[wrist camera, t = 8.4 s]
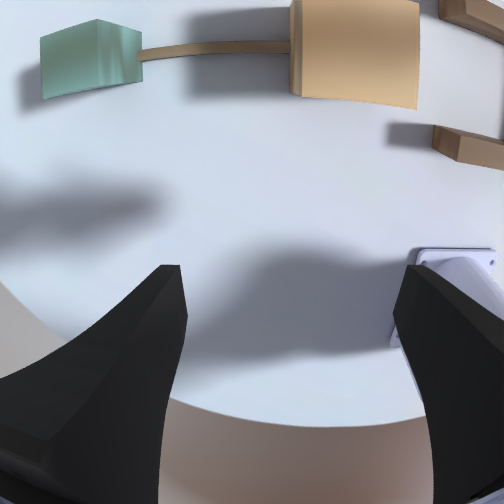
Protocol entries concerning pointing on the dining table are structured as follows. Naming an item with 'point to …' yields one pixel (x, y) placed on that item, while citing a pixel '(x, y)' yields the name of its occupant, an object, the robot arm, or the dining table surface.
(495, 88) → the dining table surface
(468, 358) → the robot arm
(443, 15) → the wooden u-shaped bracket
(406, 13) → the wooden blocks on rod
